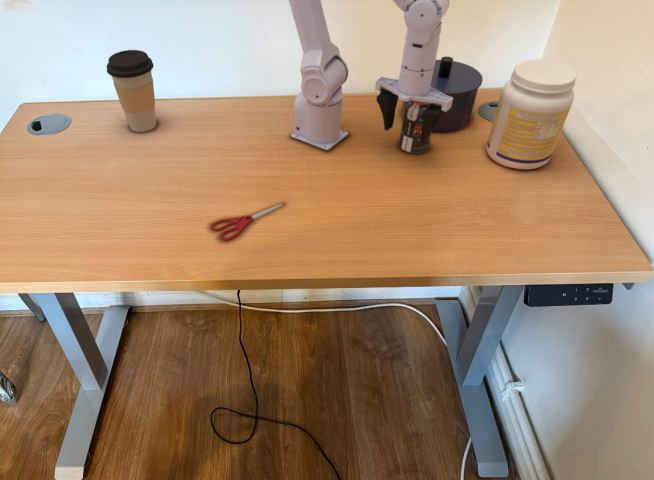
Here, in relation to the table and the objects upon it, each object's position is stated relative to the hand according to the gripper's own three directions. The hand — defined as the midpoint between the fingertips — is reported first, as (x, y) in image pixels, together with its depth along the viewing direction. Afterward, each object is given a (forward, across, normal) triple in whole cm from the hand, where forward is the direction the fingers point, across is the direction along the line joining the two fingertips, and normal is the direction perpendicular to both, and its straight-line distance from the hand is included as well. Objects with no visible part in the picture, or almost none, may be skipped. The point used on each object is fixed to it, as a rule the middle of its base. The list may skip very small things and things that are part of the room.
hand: (405, 134), depth 103 cm
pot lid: (-4, -2, +19) cm, 19 cm away
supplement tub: (+5, +18, +14) cm, 23 cm away
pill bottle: (+5, 0, +5) cm, 7 cm away
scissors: (+6, -12, -33) cm, 36 cm away
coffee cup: (+5, -52, -22) cm, 57 cm away
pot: (+5, -2, +19) cm, 19 cm away
